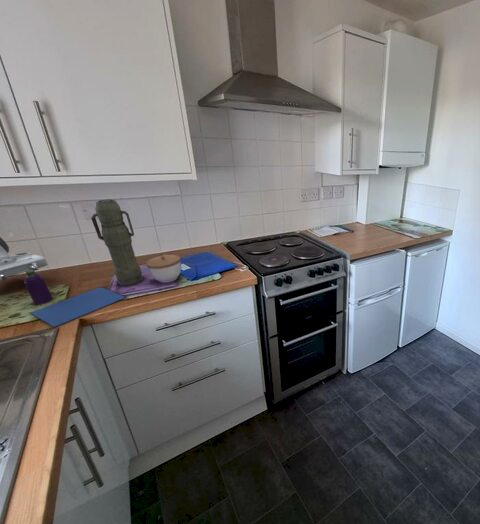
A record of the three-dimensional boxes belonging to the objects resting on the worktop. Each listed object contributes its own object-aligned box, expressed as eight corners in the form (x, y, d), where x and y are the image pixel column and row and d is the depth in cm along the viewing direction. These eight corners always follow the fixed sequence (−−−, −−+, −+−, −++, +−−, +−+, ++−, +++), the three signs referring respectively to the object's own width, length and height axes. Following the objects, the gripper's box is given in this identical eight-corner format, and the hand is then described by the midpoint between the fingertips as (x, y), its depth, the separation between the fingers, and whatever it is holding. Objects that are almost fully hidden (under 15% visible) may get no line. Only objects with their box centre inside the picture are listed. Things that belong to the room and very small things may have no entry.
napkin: (54, 327, 99) (53, 326, 98) (30, 313, 106) (30, 312, 106) (125, 297, 116) (125, 297, 116) (101, 287, 124) (100, 286, 124)
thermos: (114, 281, 129) (86, 200, 116) (146, 274, 136) (123, 197, 122) (114, 289, 123) (84, 204, 109) (147, 281, 129) (124, 200, 115)
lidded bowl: (176, 285, 126) (170, 261, 122) (145, 286, 125) (138, 262, 121) (189, 272, 138) (184, 250, 133) (160, 273, 137) (154, 250, 133)
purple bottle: (37, 305, 111) (23, 275, 106) (31, 302, 113) (17, 272, 108) (55, 299, 115) (42, 270, 110) (49, 296, 117) (36, 267, 112)
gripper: (-38, 268, 112) (-25, 276, 106) (34, 250, 129) (49, 256, 123) (-29, 283, 115) (-16, 291, 109) (40, 264, 131) (55, 270, 126)
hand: (19, 273), depth 116 cm, fingers open, 8 cm apart
